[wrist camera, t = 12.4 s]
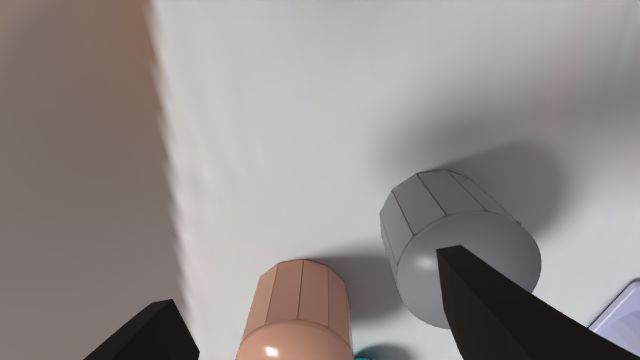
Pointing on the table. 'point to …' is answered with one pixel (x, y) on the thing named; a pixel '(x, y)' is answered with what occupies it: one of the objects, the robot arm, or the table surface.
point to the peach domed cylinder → (298, 315)
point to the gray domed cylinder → (450, 238)
